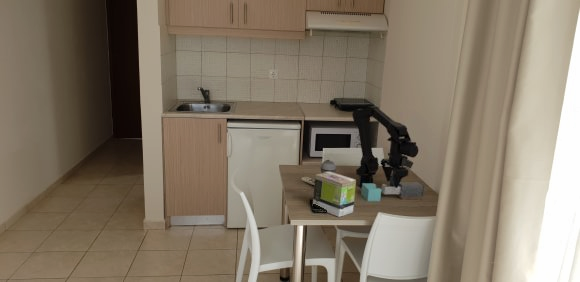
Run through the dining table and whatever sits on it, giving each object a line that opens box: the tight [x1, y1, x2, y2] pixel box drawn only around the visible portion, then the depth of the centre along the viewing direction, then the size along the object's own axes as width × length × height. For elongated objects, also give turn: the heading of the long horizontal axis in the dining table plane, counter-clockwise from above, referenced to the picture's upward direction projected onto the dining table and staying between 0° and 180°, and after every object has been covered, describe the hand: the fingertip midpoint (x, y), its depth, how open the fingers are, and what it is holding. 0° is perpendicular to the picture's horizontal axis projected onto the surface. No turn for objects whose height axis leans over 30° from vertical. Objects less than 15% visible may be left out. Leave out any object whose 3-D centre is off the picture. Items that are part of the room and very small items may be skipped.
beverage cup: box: [320, 151, 337, 173], centre depth 213 cm, size 7×7×20 cm
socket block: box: [360, 182, 382, 202], centre depth 211 cm, size 6×9×6 cm, turn 11°
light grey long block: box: [380, 175, 402, 195], centre depth 213 cm, size 17×4×8 cm, turn 101°
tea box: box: [312, 171, 357, 218], centre depth 192 cm, size 15×10×15 cm
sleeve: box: [396, 181, 425, 201], centre depth 215 cm, size 11×5×7 cm, turn 101°
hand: (392, 184), depth 212 cm, fingers open, 9 cm apart
